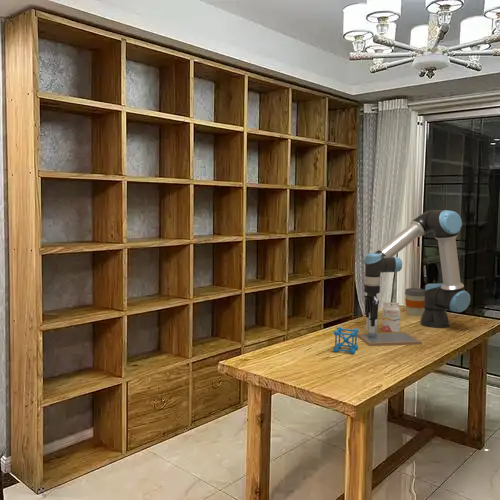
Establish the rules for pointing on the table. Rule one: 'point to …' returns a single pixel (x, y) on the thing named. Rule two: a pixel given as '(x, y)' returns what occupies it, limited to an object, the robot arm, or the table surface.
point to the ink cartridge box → (391, 317)
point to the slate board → (389, 339)
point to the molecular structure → (346, 340)
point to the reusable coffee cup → (415, 301)
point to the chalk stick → (375, 330)
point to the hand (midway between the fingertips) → (370, 331)
